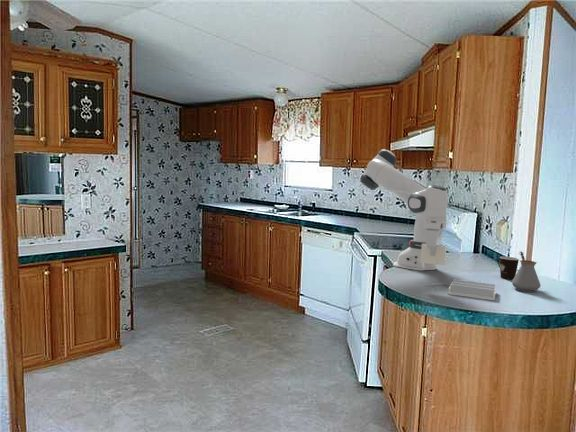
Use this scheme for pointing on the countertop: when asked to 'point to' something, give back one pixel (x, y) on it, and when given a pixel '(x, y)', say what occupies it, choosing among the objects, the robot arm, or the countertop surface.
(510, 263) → the coffee mug
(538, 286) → the coffee pot
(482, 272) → the countertop surface
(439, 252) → the ceramic tile
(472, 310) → the countertop surface
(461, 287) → the dish rack
